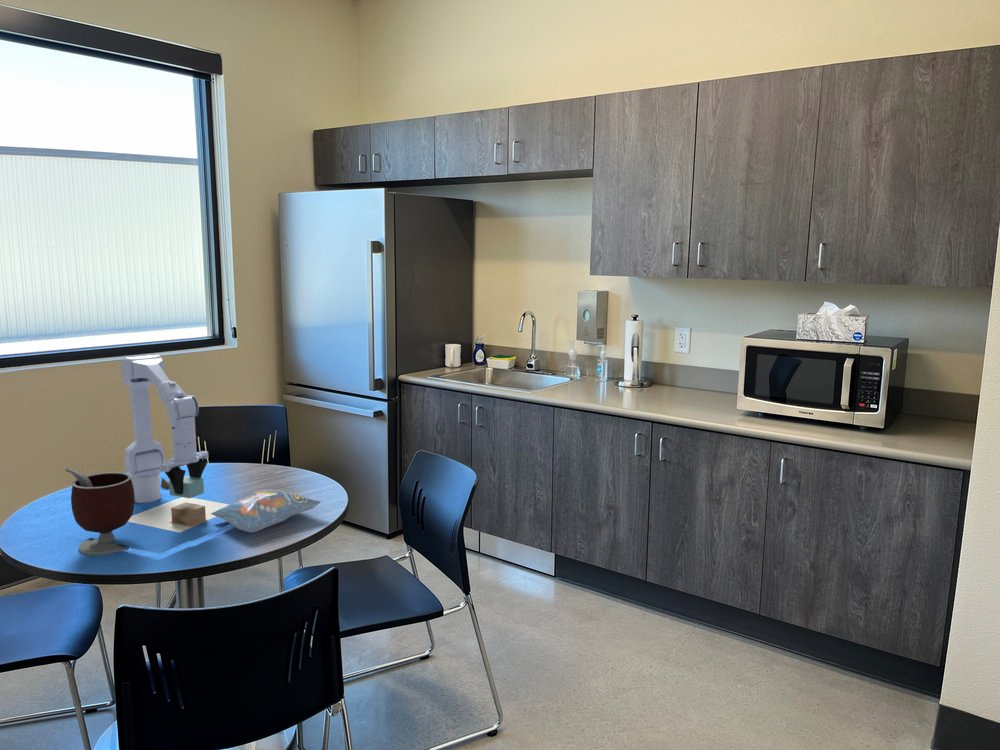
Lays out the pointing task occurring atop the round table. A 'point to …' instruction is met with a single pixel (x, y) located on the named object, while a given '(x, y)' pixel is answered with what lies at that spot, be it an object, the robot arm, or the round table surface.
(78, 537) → the round table surface
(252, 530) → the packet
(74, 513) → the mate gourd
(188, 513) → the walnut block
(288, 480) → the round table surface
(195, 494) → the teal block
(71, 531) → the round table surface
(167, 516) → the baseplate
